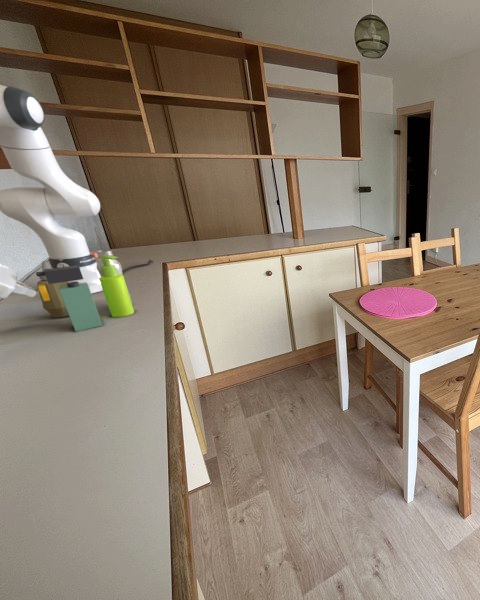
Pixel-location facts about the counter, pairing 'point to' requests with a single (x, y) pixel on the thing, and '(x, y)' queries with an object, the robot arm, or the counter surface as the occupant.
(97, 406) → the counter surface
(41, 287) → the block
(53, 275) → the spray bottle
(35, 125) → the robot arm
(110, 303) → the soap dispenser
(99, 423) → the counter surface
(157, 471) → the counter surface
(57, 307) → the squeeze bottle
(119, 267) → the plastic bottle
